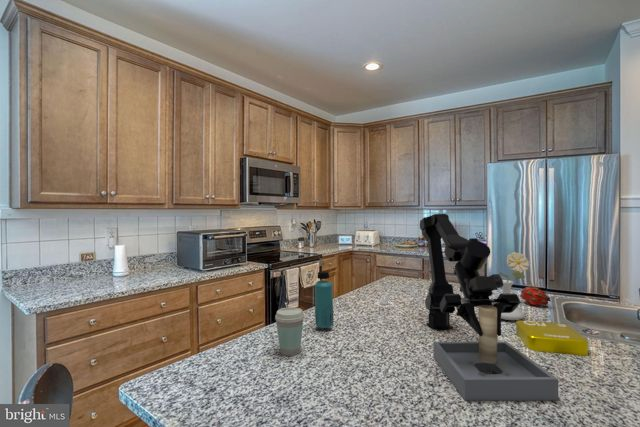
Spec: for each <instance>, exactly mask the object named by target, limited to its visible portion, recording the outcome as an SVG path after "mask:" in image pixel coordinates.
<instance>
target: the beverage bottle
mask: <svg viewBox="0 0 640 427" xmlns="http://www.w3.org/2000/svg"><path fill="white" fill-rule="evenodd" d="M316 277H317V279H319V280H317V282H316V283H315V284H314V323H315V326H316V327H318V328H324V329H325V328H331V327H332V326H334V303H333V302H334V296H333V284H332V282H331V281H330V280H328V279H330V272H329V271H327V270H326V271H325V270H322V271H318V272H317V276H316Z"/></svg>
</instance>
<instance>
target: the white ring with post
mask: <svg viewBox="0 0 640 427" xmlns="http://www.w3.org/2000/svg"><path fill="white" fill-rule="evenodd" d="M389 297H390V296H389V295H388V294H382V295H381V298H380V299H379V300H380V301H377V302H376V303H375V305H377V306H378V307H384V308H385V307H386V308H387V307H388V308H391V307H393V306H395V303H394V302H391V301H389V300H390V299H389ZM380 303H382V305H381V304H380ZM389 304H391V305H389Z"/></svg>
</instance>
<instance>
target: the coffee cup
mask: <svg viewBox="0 0 640 427" xmlns="http://www.w3.org/2000/svg"><path fill="white" fill-rule="evenodd" d="M304 314H305V313H304V312H303V309H301V308H299V307H291V306H288V307H283V308H279V309H278V310H277V311H276V314H275V316H274V317H275V318H274V320H275V321H276V328H277V337H278V344H279V345H278V346H279V353H280V354H281V355H283V356H286V357H293V356H297V355H298V354H299V353H300V352H301V346H302V337H303V326H304V318H305V315H304Z"/></svg>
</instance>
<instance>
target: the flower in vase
mask: <svg viewBox="0 0 640 427" xmlns="http://www.w3.org/2000/svg"><path fill="white" fill-rule="evenodd" d="M506 264H507V266H508V268H510V270H512V273H511V274H510V276H509V275H508V274H504V273H502V272H500V271H499V274H500V276H502V277H505V278H507V279H502V281H503V286H502V287H501V288H502V289H501V290H502V294H503V293H511V288H512V287H513V284H514V283H515V281H513V280H510V279H511V278H512V276H514V278H516V279H517V280H518V279H525V278H526V276H525V274H523V272H525V271H528V270H529V267H530V261H529V260H528V258H527V257H525V255H524V254H523V253H521V252H516V251H513V252H511V253H510V254H507V257H506ZM524 317H525V314H524V312H523V311H522V310H521V309H520V308H518V307H517V308H516V309H515V310H514V311H513V312H511V313H501V320H505V321H506V320H508V321H520V320H522V319H524Z"/></svg>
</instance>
